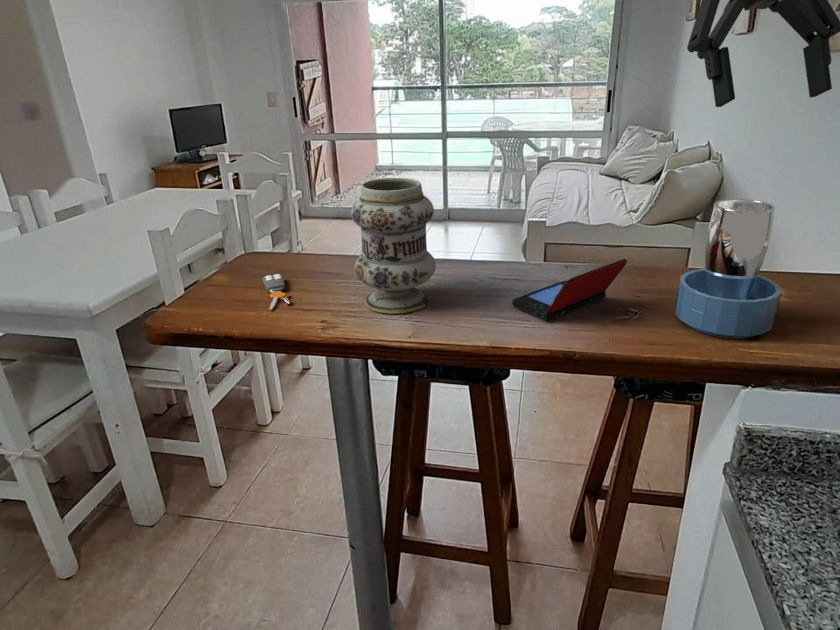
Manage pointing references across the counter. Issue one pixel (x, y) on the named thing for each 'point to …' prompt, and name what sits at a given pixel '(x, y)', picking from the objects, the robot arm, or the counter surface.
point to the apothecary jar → (394, 244)
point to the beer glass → (736, 246)
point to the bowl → (727, 308)
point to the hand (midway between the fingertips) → (773, 98)
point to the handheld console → (569, 293)
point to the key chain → (275, 288)
